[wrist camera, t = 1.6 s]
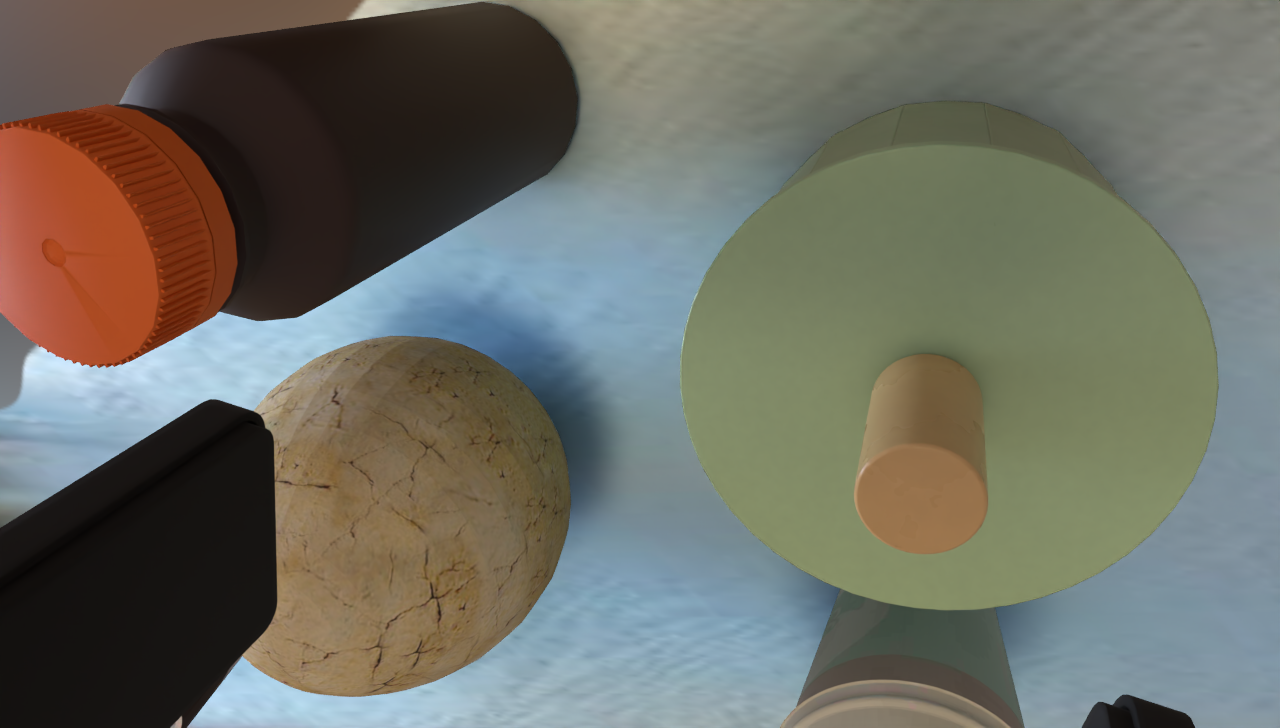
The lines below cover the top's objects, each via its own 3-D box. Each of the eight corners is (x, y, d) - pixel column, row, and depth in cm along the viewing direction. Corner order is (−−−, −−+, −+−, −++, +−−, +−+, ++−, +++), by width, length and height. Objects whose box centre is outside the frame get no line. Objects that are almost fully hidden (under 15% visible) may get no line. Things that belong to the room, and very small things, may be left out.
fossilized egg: (614, 567, 43) (465, 844, 30) (369, 515, 46) (137, 744, 33) (618, 308, 37) (438, 507, 24) (341, 270, 41) (50, 427, 28)
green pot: (1154, 95, 29) (1232, 158, 21) (1103, 447, 34) (1151, 612, 26) (757, 105, 33) (690, 162, 24) (763, 422, 38) (708, 559, 29)
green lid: (1255, 130, 21) (1358, 196, 16) (1164, 616, 26) (1217, 788, 21) (676, 139, 25) (601, 195, 20) (699, 559, 30) (644, 692, 25)
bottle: (615, 76, 34) (252, 225, 16) (526, 220, 37) (147, 471, 20) (464, -39, 34) (-60, -12, 16) (390, 116, 37) (-112, 276, 20)
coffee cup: (886, 465, 37) (860, 676, 26) (1075, 584, 36) (1123, 845, 26) (774, 601, 41) (712, 829, 30) (941, 708, 41) (937, 976, 30)
